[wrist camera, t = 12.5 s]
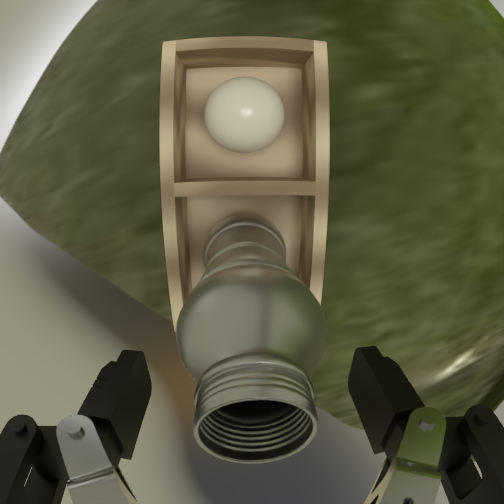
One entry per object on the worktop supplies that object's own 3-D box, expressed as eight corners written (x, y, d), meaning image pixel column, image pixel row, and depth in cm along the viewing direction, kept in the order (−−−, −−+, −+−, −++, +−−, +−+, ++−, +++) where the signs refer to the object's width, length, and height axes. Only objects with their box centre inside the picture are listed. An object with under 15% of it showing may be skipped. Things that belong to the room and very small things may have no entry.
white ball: (208, 88, 22) (199, 67, 16) (279, 87, 22) (290, 67, 17) (208, 154, 24) (198, 152, 18) (279, 154, 24) (291, 152, 18)
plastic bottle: (200, 215, 26) (104, 363, 6) (277, 202, 25) (376, 326, 6) (214, 283, 27) (179, 483, 8) (286, 271, 27) (357, 462, 8)
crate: (177, 63, 22) (163, 41, 17) (310, 62, 22) (326, 41, 17) (185, 301, 29) (174, 331, 24) (305, 300, 29) (317, 328, 24)
